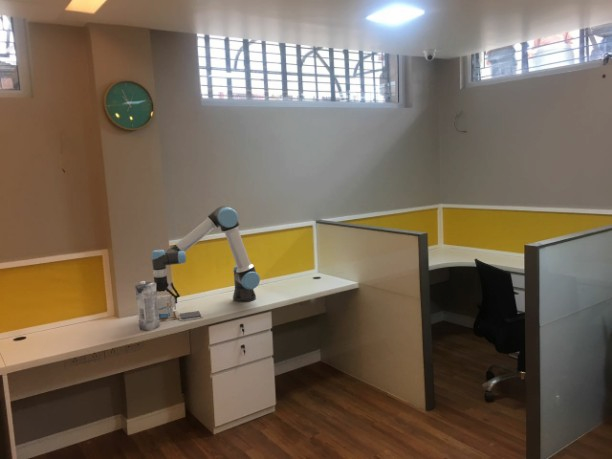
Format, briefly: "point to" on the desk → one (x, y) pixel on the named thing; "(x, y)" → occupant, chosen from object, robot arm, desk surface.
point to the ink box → (165, 306)
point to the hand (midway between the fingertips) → (163, 310)
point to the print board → (172, 317)
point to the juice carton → (147, 305)
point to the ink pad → (190, 315)
